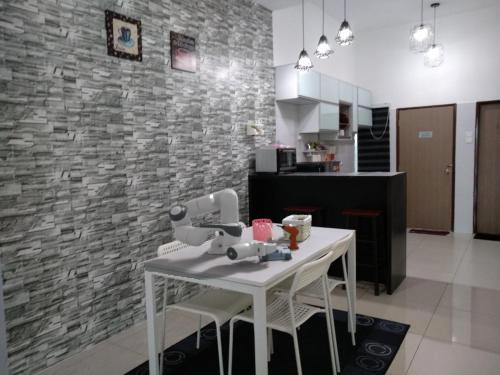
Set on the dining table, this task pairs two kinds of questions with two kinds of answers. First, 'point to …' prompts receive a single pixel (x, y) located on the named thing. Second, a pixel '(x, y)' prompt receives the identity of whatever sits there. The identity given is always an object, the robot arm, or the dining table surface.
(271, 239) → the motor
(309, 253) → the dining table surface
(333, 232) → the dining table surface
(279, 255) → the chassis
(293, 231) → the toy drill
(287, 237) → the storage basket
